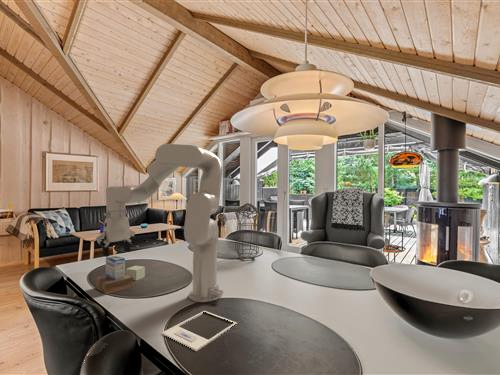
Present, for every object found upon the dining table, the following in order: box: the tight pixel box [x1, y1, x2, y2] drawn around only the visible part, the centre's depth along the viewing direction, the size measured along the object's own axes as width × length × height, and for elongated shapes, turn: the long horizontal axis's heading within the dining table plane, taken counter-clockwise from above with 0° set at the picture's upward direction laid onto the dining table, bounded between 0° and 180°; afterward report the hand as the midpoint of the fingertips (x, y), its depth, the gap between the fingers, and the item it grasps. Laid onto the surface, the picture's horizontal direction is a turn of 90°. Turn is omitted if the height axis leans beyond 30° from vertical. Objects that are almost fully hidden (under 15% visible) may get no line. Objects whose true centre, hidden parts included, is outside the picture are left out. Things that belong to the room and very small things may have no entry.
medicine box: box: [104, 255, 126, 280], centre depth 118 cm, size 8×4×9 cm, turn 57°
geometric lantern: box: [233, 202, 264, 262], centre depth 169 cm, size 16×16×35 cm
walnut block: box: [95, 273, 134, 296], centre depth 118 cm, size 11×11×5 cm
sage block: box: [125, 265, 146, 281], centre depth 131 cm, size 6×6×5 cm
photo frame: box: [161, 310, 238, 352], centre depth 84 cm, size 15×1×18 cm
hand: (116, 253), depth 118 cm, fingers open, 9 cm apart
